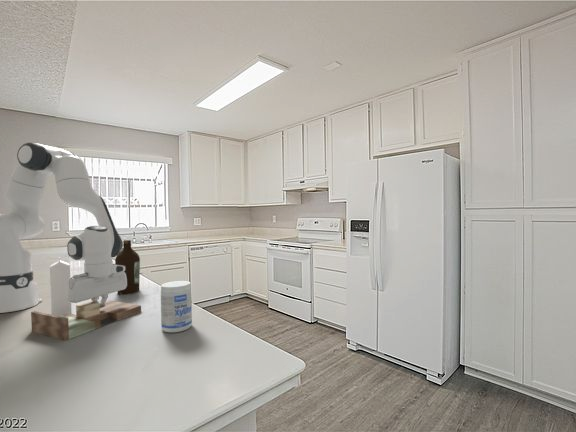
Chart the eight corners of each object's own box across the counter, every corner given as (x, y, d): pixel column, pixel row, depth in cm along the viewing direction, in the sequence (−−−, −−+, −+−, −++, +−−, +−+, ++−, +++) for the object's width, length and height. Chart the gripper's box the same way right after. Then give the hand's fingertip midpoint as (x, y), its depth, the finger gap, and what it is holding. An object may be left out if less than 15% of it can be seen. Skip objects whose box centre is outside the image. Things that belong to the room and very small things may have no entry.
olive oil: (112, 295, 139) (111, 242, 139) (120, 289, 149) (118, 239, 149) (137, 293, 141) (135, 241, 141) (143, 288, 152) (141, 238, 151)
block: (76, 316, 104) (75, 305, 104) (90, 311, 109) (90, 301, 109) (85, 318, 102) (85, 306, 102) (99, 313, 107) (99, 302, 107)
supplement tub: (179, 335, 93) (178, 288, 93) (154, 332, 96) (153, 286, 95) (198, 323, 102) (196, 281, 102) (174, 321, 105) (173, 279, 105)
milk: (51, 318, 110) (48, 259, 110) (52, 314, 115) (49, 257, 114) (72, 314, 114) (69, 257, 113) (71, 310, 119) (69, 255, 118)
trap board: (31, 331, 98) (31, 312, 98) (109, 306, 123) (109, 290, 123) (65, 340, 91) (64, 319, 91) (141, 311, 115) (140, 295, 115)
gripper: (74, 277, 99) (76, 318, 99) (129, 265, 118) (130, 300, 118) (62, 275, 101) (64, 316, 102) (118, 264, 120) (119, 299, 120)
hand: (100, 307), depth 110 cm, fingers closed
